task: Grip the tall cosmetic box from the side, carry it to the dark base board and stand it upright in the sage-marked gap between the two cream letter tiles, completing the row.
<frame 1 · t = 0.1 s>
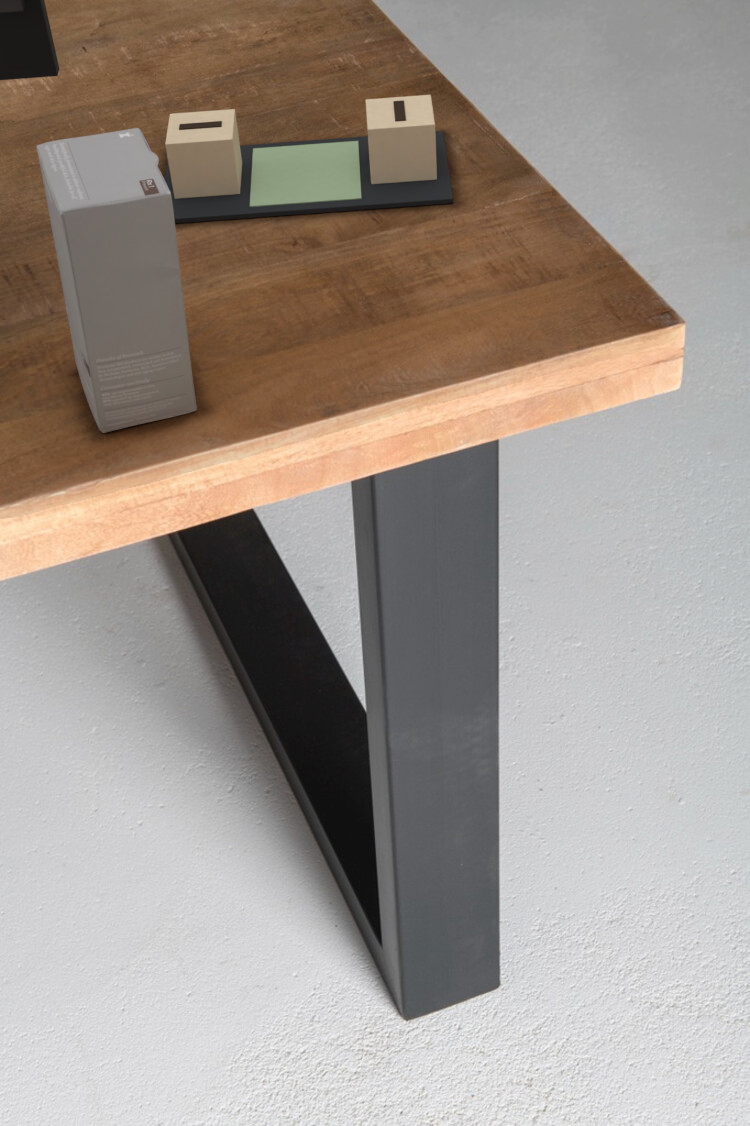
hand: (49, 15, 69), 26 cm above the table, tool pointing down, fingers open, 13 cm apart
dark base board: (306, 178, 109), on the table
cosmetic box: (142, 392, 90), on the table
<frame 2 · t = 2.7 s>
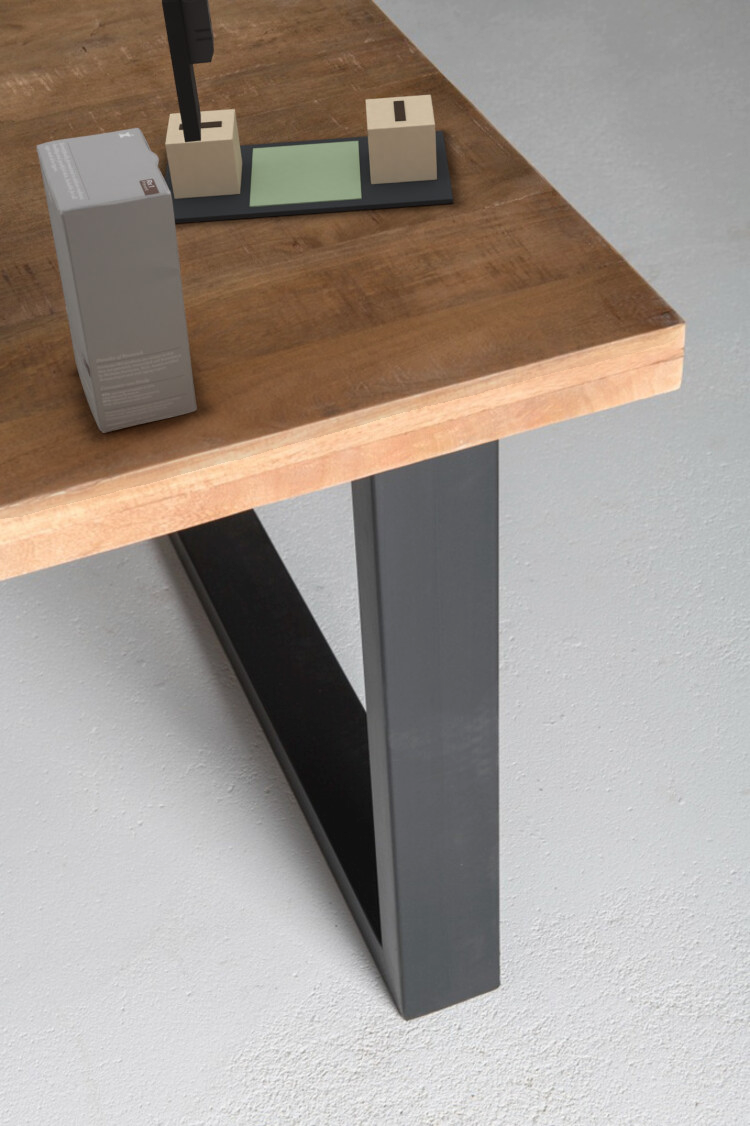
hand: (49, 144, 66), 23 cm above the table, tool pointing down, fingers open, 13 cm apart
nothing on the table moved.
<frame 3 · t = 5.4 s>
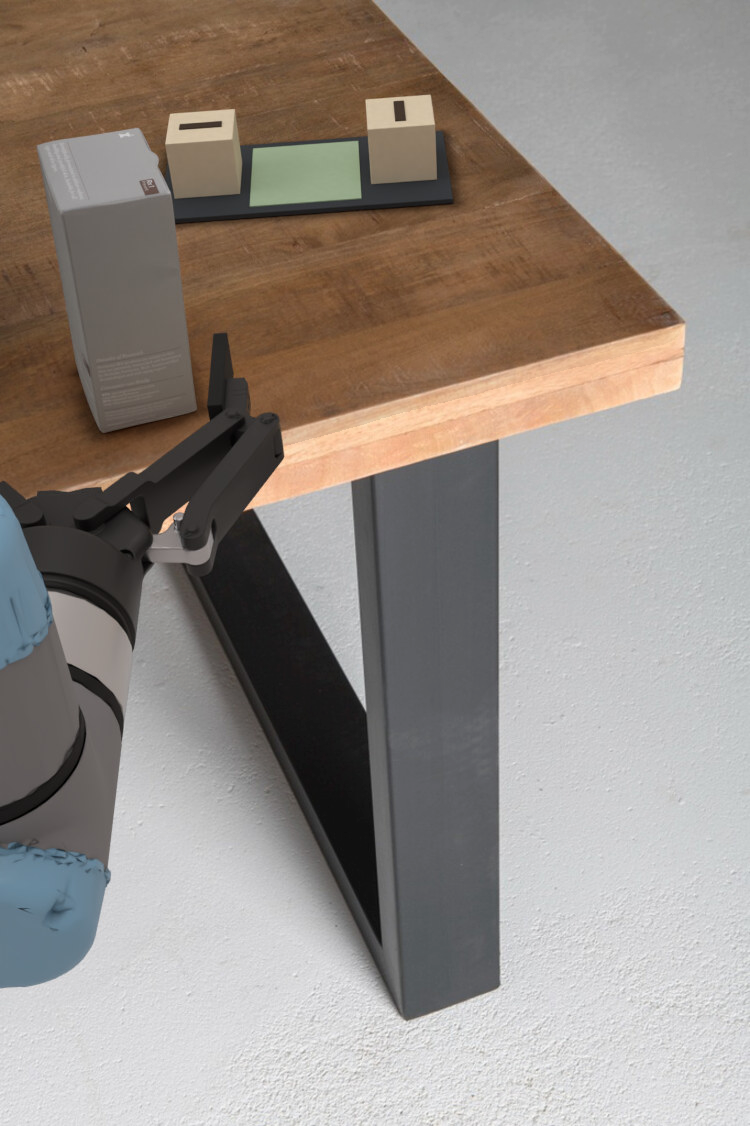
hand: (100, 362, 77), 9 cm above the table, tool horizontal, fingers open, 13 cm apart
nothing on the table moved.
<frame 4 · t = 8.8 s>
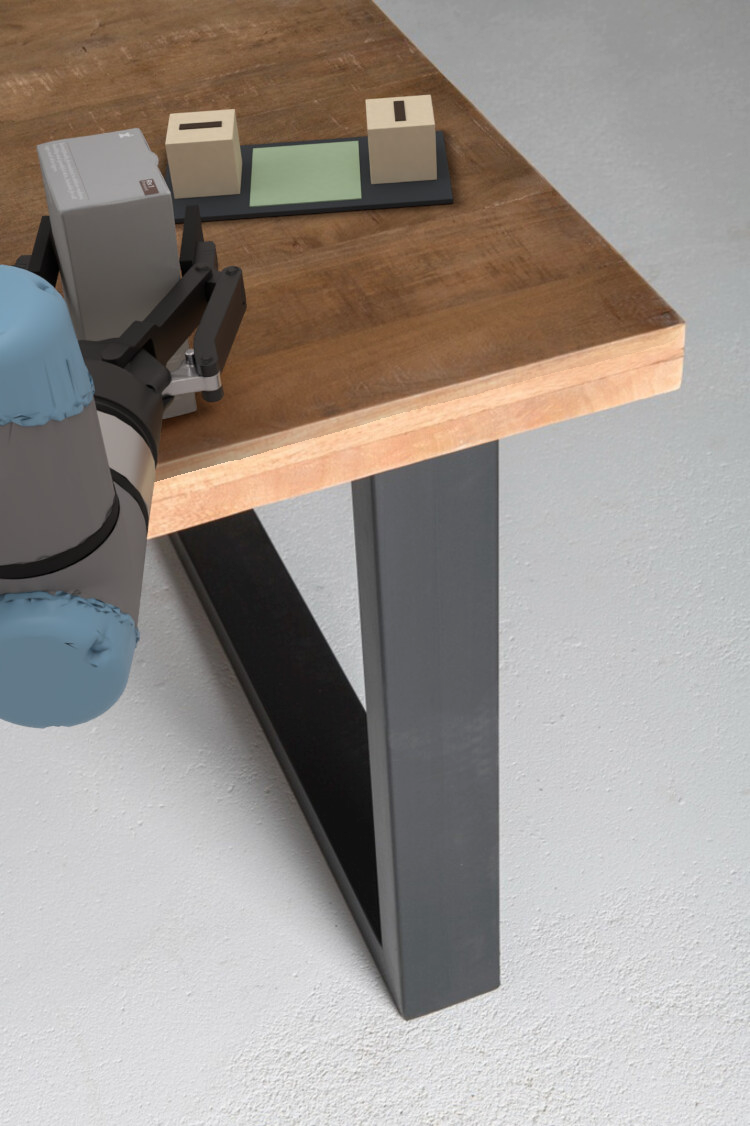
hand: (124, 229, 88), 9 cm above the table, tool horizontal, fingers closed on cosmetic box, 8 cm apart
cosmetic box: (142, 392, 90), on the table, touching gripper
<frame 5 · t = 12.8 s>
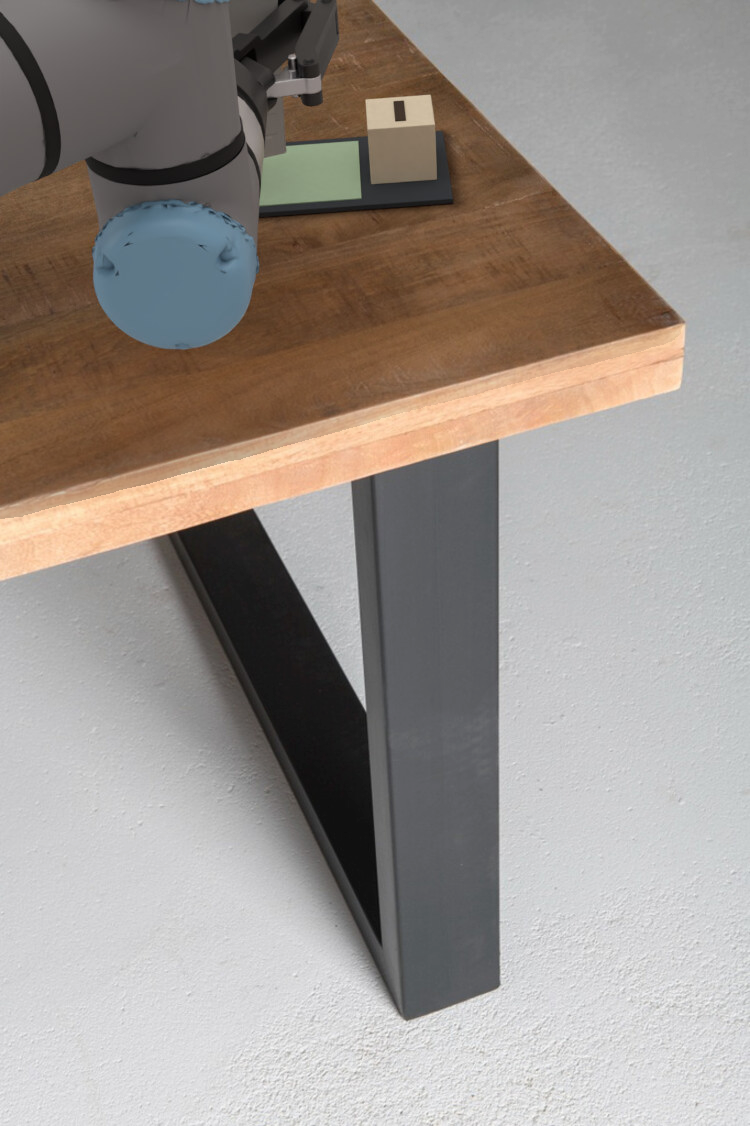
cosmetic box: (233, 141, 95), point 9 cm above the table, touching gripper
when the fingers open (9 cm above the table, at t = 17.1 s): cosmetic box stays where it is, resting on dark base board.
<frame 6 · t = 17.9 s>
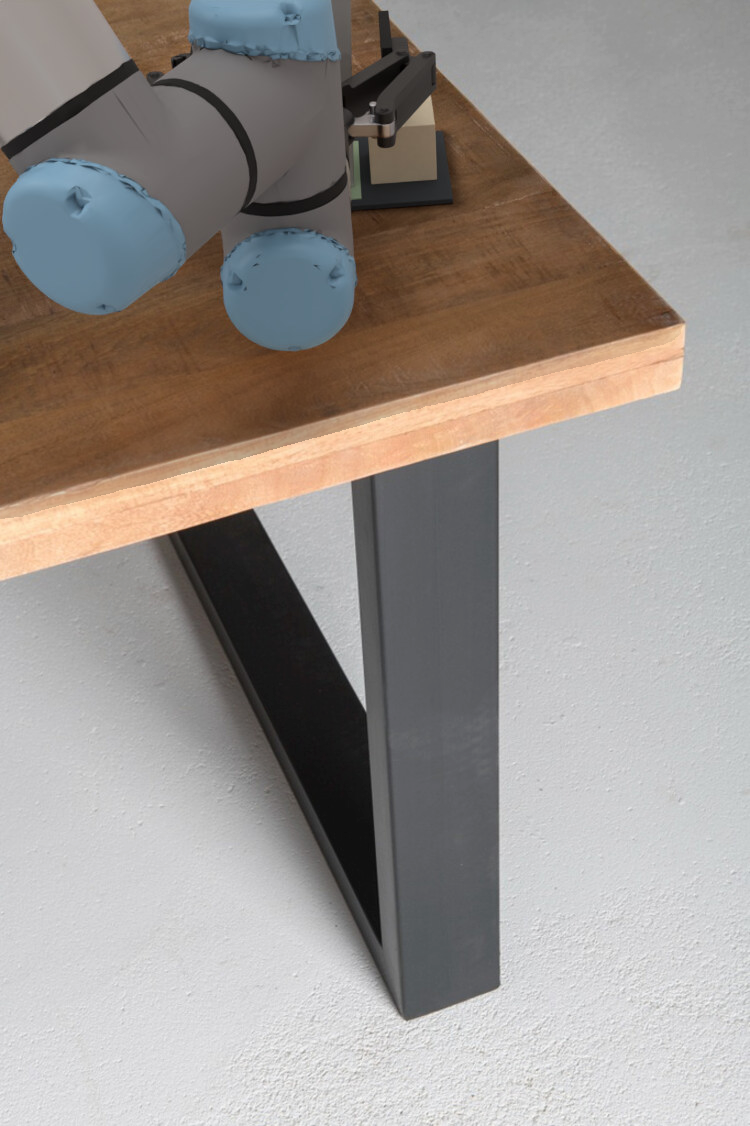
hand: (292, 35, 105), 10 cm above the table, tool horizontal, fingers open, 13 cm apart
cosmetic box: (306, 175, 109), resting on dark base board
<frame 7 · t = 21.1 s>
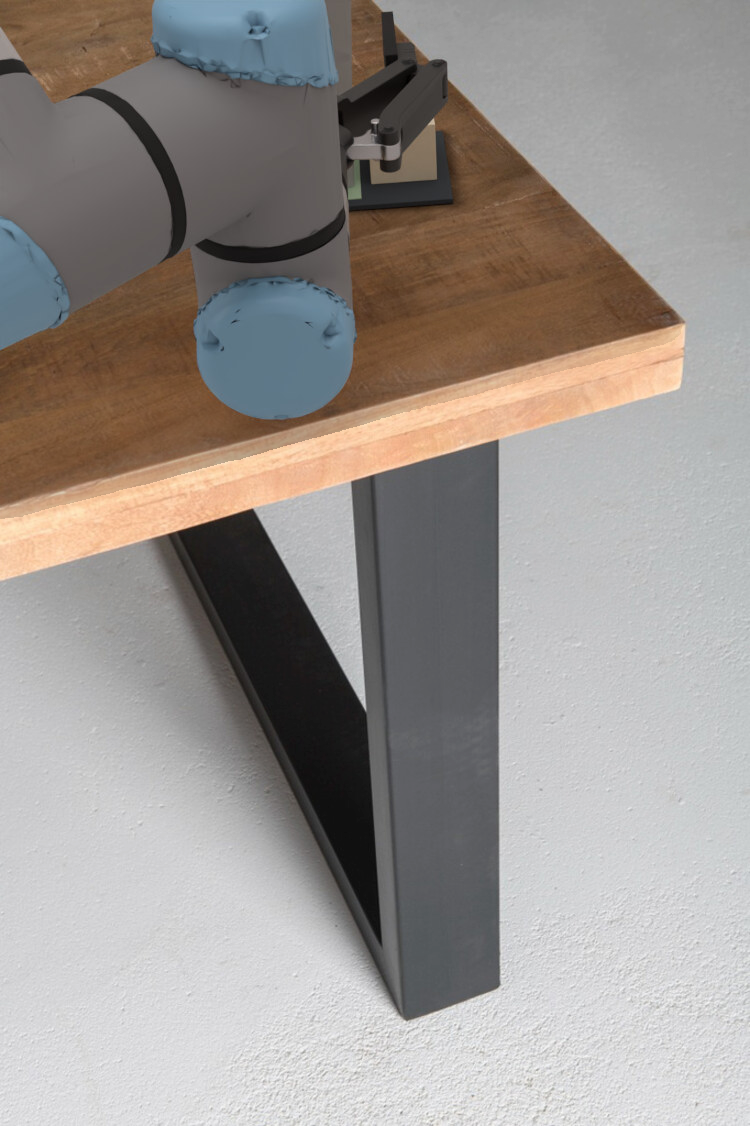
hand: (283, 38, 92), 15 cm above the table, tool horizontal, fingers open, 13 cm apart
nothing on the table moved.
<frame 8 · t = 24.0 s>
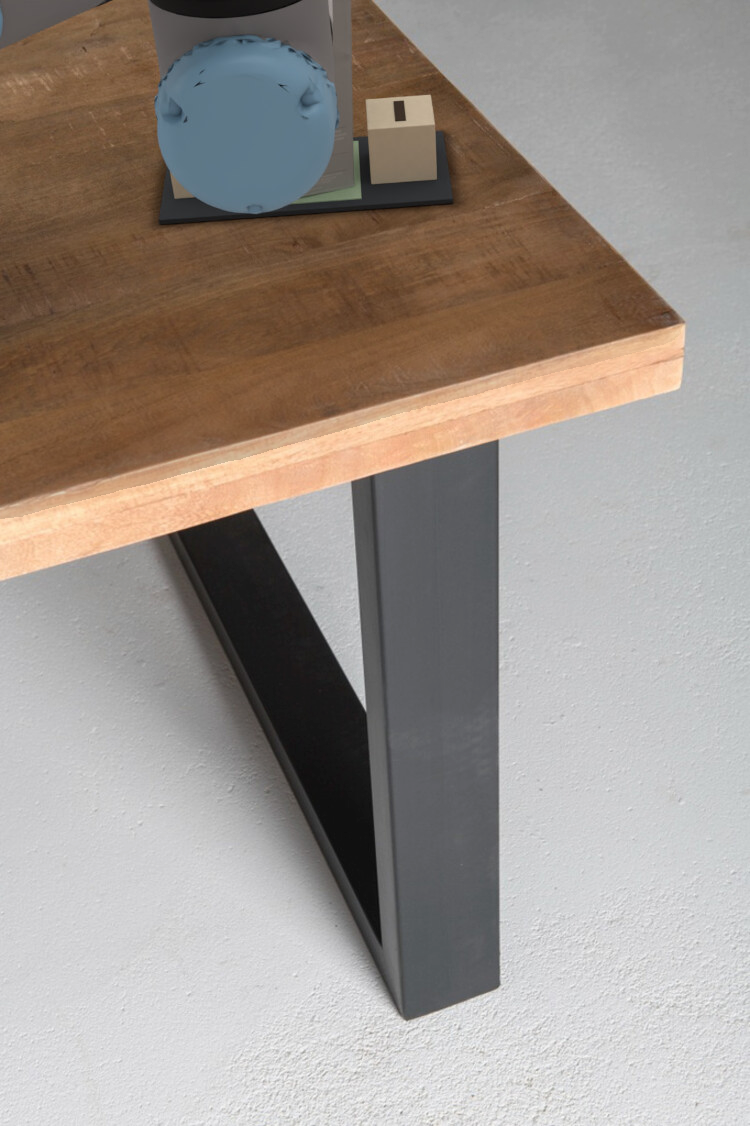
nothing on the table moved.
at the end: cosmetic box 0.1 cm off-centre on the dark base board, point 0.3 cm above the dark base board's base; cosmetic box tilted 0°; the gripper is holding nothing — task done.
